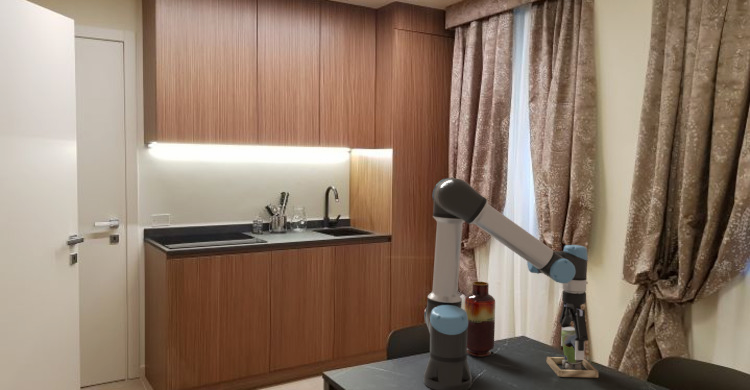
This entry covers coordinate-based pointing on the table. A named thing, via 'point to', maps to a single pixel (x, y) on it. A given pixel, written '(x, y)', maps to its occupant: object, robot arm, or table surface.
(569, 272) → the robot arm
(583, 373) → the peg frame
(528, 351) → the table surface
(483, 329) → the vase
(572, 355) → the beverage can
